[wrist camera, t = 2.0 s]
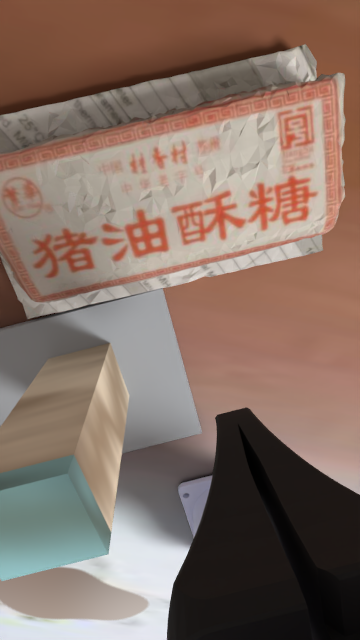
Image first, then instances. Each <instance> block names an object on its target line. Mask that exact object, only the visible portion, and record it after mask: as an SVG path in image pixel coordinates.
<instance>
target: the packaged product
mask: <svg viewBox="0 0 360 640" xmlns="http://www.w3.org/2000/svg"><path fill="white" fill-rule="evenodd" d="M316 64H317V62H316V60H315V58H314V57H313V55H312V53H311V52H310V50H309V49H308V47H307V46H306V44H305V45H302V46H299V47H295V48H292V49H289V50H286V51H279V52H276V53H273V54H268V55H263V56H259V57H254V58H250V59H246V60H242V61H238V62H234V63H230V64H226V65H221V66H216V67H211V68H208V69H204V70H201V71H193V72H190V73H187V74H182V75H177V76H173V77H170V78H163V79H157V80H152V81H147V82H143V83H140V84H136V85H133V86H130V87H124V88H119V89H114V90H110V91H107V92H103V93H98V94H95V95H91V96H86V97H80V98H76V99H73V100H69V101H66V102H62V103H56V104H50V105H45V106H40V107H36V108H31V109H27V110H23V111H19V112H15V113H10V114H5V115H0V257H1V260H2V262H3V265H4V267H5V270H6V272H7V274H8V277H9V279H10V281H11V283H12V286H13V288H14V290H15V292H16V295H17V297H18V300H19V301H20V302H21V303H22V304H23V307H24V310H25V313H26V316H27V319H30V318H34V317H38V316H42V315H47V314H51V313H58V312H63V311H67V310H71V309H75V308H79V307H82V306H86V305H90V304H95V303H99V302H104V301H109V300H113V299H118V298H122V297H126V296H131V295H135V294H140V293H144V292H148V291H152V290H156V289H160V288H165V287H171V286H175V285H179V284H184V283H188V282H191V281H194V280H196V279H199V278H201V277H203V276H208V277H212V276H216V275H220V274H225V273H230V272H235V271H239V270H242V269H246V268H250V267H253V266H257V265H263V264H268V263H272V262H277V261H281V260H286V259H290V258H293V257H299V256H304V255H308V254H311V253H315V252H319V251H322V250H323V247H322V234H325V233H327V232H328V231H330V230H331V229H332V228H333V227H334V226H335V223H336V221H337V218H338V214H339V208H340V205H341V202H342V201H343V199H344V197H345V191H344V185H345V183H344V176H343V171H342V165H343V160H342V153H341V148H342V145H343V142H344V125H345V116H344V113H343V98H344V86H345V76H344V74H343V73H336V74H333V75H330V76H329V75H323V74H321V75H320V76H319V77H318V78H317V79H316Z"/></svg>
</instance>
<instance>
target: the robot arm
mask: <svg viewBox="0 0 360 640" xmlns="http://www.w3.org/2000/svg"><path fill="white" fill-rule="evenodd" d="M215 419H216V425H217V445H216V456H215V463H214V469H213V475H211V476H207V477H203V478H200V479H196V480H192V481H188V482H184V483H181V484H180V485H179V486H178V493H179V496H180V499H181V502H182V504H183V507H184V510H185V513H186V516H187V519H188V522H189V525H190V528H191V531H192V534H193V537H194V539H193V542H192V544H191V547H190V549H189V552H188V554H187V556H186V559H185V561H184V563H183V565H182V567H181V569H180V571H179V573H178V575H177V577H176V580H175V582H174V584H173V589H172V595H171V601H170V608H169V615H168V629H167V640H360V495H359V494H357V493H355V492H354V491H352V490H350V489H348V488H347V487H345V486H343V485H341V484H339V483H338V482H336V481H334V480H333V479H331V478H330V477H328V476H327V475H325V474H323V473H322V472H320V471H319V470H318V469H316V468H315V467H313V466H312V465H310V464H309V463H308V462H306V461H305V460H304V459H302V458H301V457H300V456H298V455H297V454H296V453H295V452H293V451H292V450H291V449H290V448H288V447H287V446H286V445H285V444H284V443H283V442H281V441H280V440H279V439H278V438H277V437H276V436H275V435H274V434H273V433H272V432H270V431H269V430H268V429H267V428H266V427H265V426H264V425H263V424H262V423H261V422H260V420H259V419H258V418H257V417H256V416H255V415H254V414H253V413H252V411H251V410H250V409H249V408H243V409H239V410H235V411H231V412H227V413H223V414H219V415H217V416H216V418H215ZM185 493H187V494H185Z"/></svg>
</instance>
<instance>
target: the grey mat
mask: <svg viewBox="0 0 360 640" xmlns="http://www.w3.org/2000/svg"><path fill="white" fill-rule="evenodd" d="M107 343H111V346H112V349H113V352H114V354H115V357H116V360H117V363H118V365H119V368H120V371H121V374H122V376H123V379H124V382H125V385H126V387H127V390H128V393H129V403H128V410H127V418H126V425H125V433H124V440H123V448H122V453H126V452H130V451H134V450H138V449H142V448H146V447H150V446H154V445H158V444H162V443H165V442H169V441H173V440H177V439H181V438H185V437H189V436H193V435H197V434H201V433H202V430H201V426H200V422H199V419H198V415H197V411H196V408H195V404H194V401H193V397H192V393H191V390H190V386H189V382H188V379H187V375H186V372H185V368H184V364H183V361H182V357H181V353H180V350H179V346H178V342H177V339H176V335H175V332H174V328H173V324H172V321H171V317H170V313H169V310H168V306H167V303H166V299H165V295H164V292H163V288H160V289H156V290H152V291H148V292H144V293H140V294H135V295H131V296H126V297H122V298H118V299H113V300H109V301H104V302H99V303H95V304H91V305H88V306H84V307H80V308H76V309H72V310H68V311H65V312H61V313H57V314H53V315H49V316H46V317H42V318H38V319H34V320H30V321H26V322H23V323H19V324H15V325H11V326H7V327H3V328H0V427H1V425H2V424H3V423H4V421H5V420H6V418H7V417H8V415H9V414H10V413H11V411H12V410H13V408H14V407H15V405H16V404H17V403H18V401H19V400H20V398H21V397H22V395H23V394H24V393H25V391H26V390H27V388H28V387H29V385H30V384H31V383H32V381H33V380H34V378H35V377H36V376H37V374H38V373H39V371H40V370H41V368H42V367H43V366H44V364H45V363H46V361H47V360H48V359H50V358H53V357H57V356H61V355H65V354H69V353H73V352H77V351H80V350H84V349H88V348H92V347H96V346H100V345H104V344H107Z"/></svg>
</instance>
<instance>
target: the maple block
mask: <svg viewBox="0 0 360 640" xmlns="http://www.w3.org/2000/svg"><path fill="white" fill-rule="evenodd" d="M128 403H129V393H128V390H127V387H126V385H125V382H124V379H123V376H122V374H121V371H120V368H119V365H118V363H117V360H116V357H115V354H114V352H113V349H112V346H111V343H107V344H104V345H100V346H96V347H92V348H88V349H84V350H80V351H77V352H73V353H69V354H65V355H61V356H57V357H53V358H50V359H48V360H47V361H46V363H45V364H44V366H43V367H42V368H41V370H40V371H39V373H38V374H37V376H36V377H35V378H34V380H33V381H32V383H31V384H30V385H29V387H28V388H27V390H26V391H25V393H24V394H23V395H22V397H21V398H20V400H19V401H18V403H17V404H16V405H15V407H14V408H13V410H12V411H11V413H10V414H9V415H8V417H7V418H6V420H5V421H4V423H3V424H2V425H1V427H0V579H1V580H2V581H4V580H7V579H11V578H16V577H19V576H24V575H28V574H32V573H36V572H39V571H43V570H48V569H52V568H55V567H60V566H64V565H67V564H71V563H75V562H79V561H83V560H87V559H91V558H95V557H99V556H103V555H107V554H108V553H109V545H110V538H111V530H112V523H113V515H114V508H115V500H116V493H117V485H118V478H119V470H120V463H121V455H122V448H123V440H124V433H125V425H126V418H127V410H128Z"/></svg>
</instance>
